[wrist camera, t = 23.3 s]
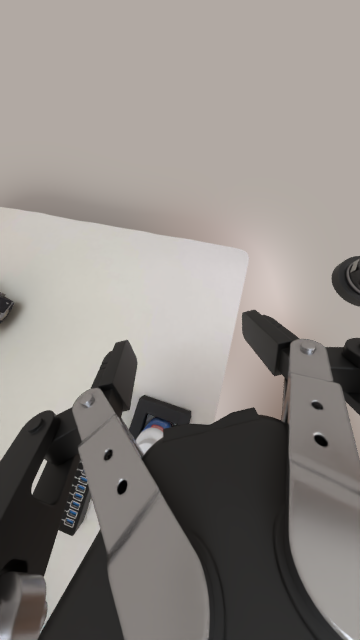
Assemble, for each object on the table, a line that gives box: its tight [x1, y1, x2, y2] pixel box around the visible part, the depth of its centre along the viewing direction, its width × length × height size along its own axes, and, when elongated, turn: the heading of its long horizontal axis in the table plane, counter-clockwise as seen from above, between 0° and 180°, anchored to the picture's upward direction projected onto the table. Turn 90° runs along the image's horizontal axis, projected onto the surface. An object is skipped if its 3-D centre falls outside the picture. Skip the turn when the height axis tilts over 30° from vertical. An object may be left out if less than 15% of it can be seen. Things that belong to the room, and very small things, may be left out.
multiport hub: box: [58, 458, 91, 536], centre depth 29 cm, size 4×14×2 cm, turn 165°
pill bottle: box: [136, 417, 173, 454], centre depth 26 cm, size 6×5×10 cm
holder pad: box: [129, 395, 191, 441], centre depth 29 cm, size 10×10×3 cm
